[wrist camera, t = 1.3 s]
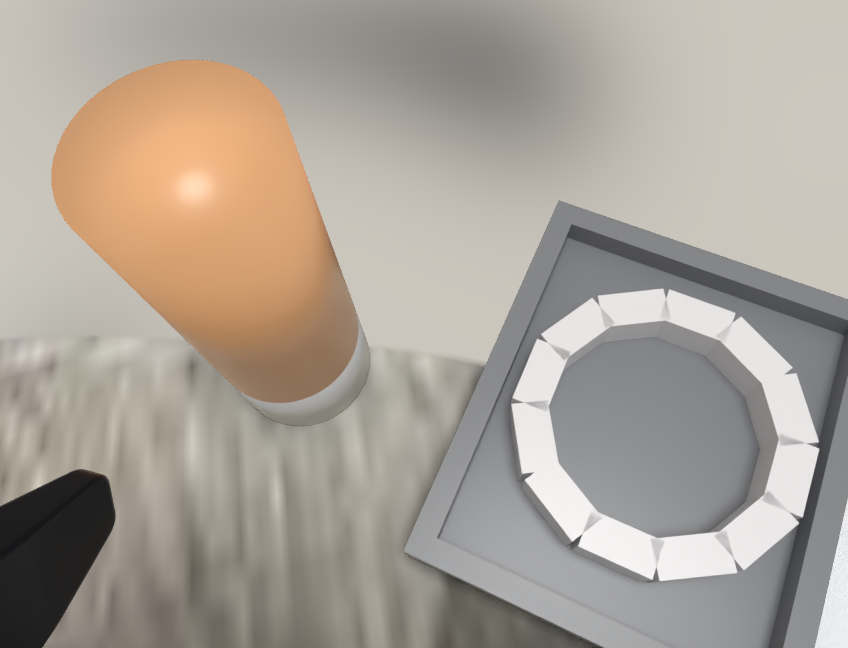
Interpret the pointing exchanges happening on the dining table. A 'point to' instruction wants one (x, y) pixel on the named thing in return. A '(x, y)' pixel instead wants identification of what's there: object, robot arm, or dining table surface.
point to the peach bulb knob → (217, 231)
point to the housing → (651, 447)
